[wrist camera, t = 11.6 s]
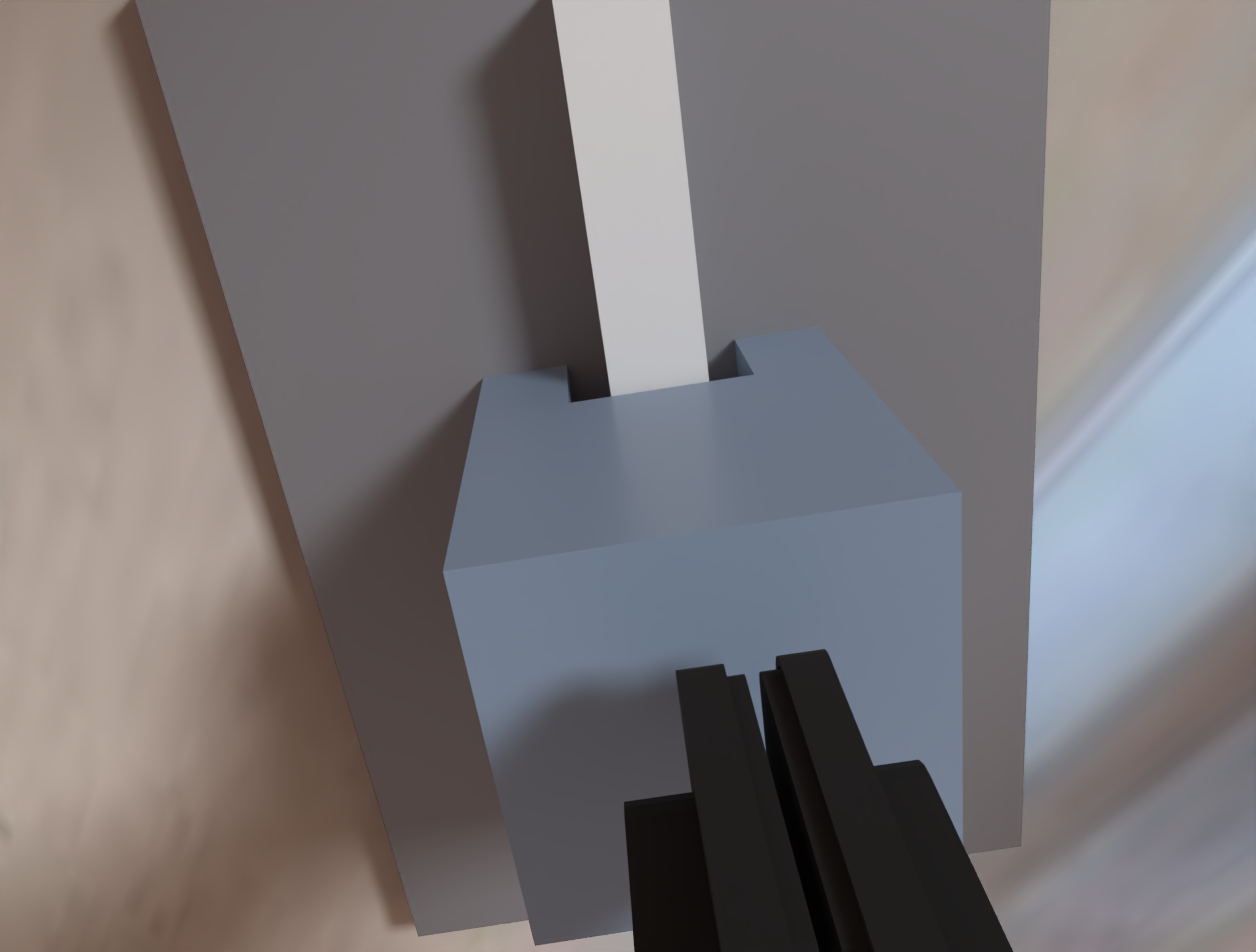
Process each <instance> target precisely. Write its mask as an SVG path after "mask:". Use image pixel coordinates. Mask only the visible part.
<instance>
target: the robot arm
mask: <svg viewBox="0 0 1256 952" xmlns="http://www.w3.org/2000/svg"><path fill="white" fill-rule="evenodd" d="M675 672H676V680H677V688H678V695H679V702H680V710H681V717H682V724H683V732H684V739H685V746H686V754H687V761H688V768H689V776H690V783H691V790H692V792H688V793H681V794H674V795H667V796H660V797H654V798H647V799H640V800H633V801H626V802H624V818H625V832H626V845H627V858H628V871H629V884H630V898H631V911H632V924H633V937H634V950H635V952H1013V950H1012V948H1011V946H1010V944H1009V942H1008V940H1007V938H1006V935H1005V933H1004V931H1003V929H1002V927H1001V925H1000V923H999V920H998V918H997V916H996V914H995V912H994V910H993V908H992V906H991V903H990V901H989V899H988V897H987V895H986V893H985V891H984V889H983V886H982V884H981V882H980V880H979V878H978V876H977V874H976V872H975V869H974V867H973V865H972V863H971V861H970V859H969V857H968V854H967V852H966V850H965V848H964V846H963V844H962V842H961V840H960V837H959V835H958V833H957V831H956V829H955V827H954V825H953V823H952V820H951V818H950V816H949V814H948V812H947V810H946V808H945V806H944V803H943V801H942V799H941V797H940V795H939V793H938V791H937V789H936V786H935V784H934V782H933V780H932V778H931V776H930V774H929V772H928V770H927V769H926V767H925V765H924V764H923V763H922V762H921V761H920V760H919V759H918V760H911V761H904V762H897V763H890V764H883V765H877V766H874V765H873V763H872V760H871V758H870V755H869V753H868V751H867V748H866V746H865V743H864V741H863V738H862V736H861V733H860V731H859V728H858V726H857V723H856V721H855V718H854V716H853V713H852V711H851V708H850V706H849V703H848V701H847V698H846V696H845V693H844V691H843V688H842V686H841V683H840V681H839V678H838V676H837V673H836V671H835V669H834V666H833V664H832V661H831V659H830V656H829V654H828V652H827V650H825V649H820V650H814V651H807V652H800V653H793V654H786V655H779V656H776V669H775V670H768V671H761V672H760V673H759V682H760V693H761V704H762V715H763V725H764V736H765V747H766V750H765V747H764V743H763V739H762V735H761V732H760V728H759V724H758V721H757V717H756V713H755V709H754V706H753V702H752V698H751V694H750V691H749V687H748V683H747V680H746V676H745V674H740V675H733V676H727V675H726V671H725V667H724V664H716V665H709V666H702V667H695V668H688V669H682V670H675Z"/></svg>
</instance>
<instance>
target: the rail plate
mask: <svg viewBox="0 0 1256 952" xmlns="http://www.w3.org/2000/svg"><path fill="white" fill-rule="evenodd" d="M135 2H136V6H137V9H138V12H139V15H140V19H141V22H142V25H143V29H144V32H145V35H146V39H147V42H148V45H149V48H150V52H151V55H152V58H153V62H154V65H155V68H156V72H157V75H158V78H159V81H160V85H161V88H162V91H163V95H164V98H165V101H166V105H167V108H168V111H169V115H170V118H171V121H172V124H173V128H174V131H175V134H176V138H177V141H178V144H179V148H180V151H181V154H182V157H183V161H184V164H185V167H186V171H187V174H188V177H189V181H190V184H191V187H192V190H193V194H194V197H195V200H196V204H197V207H198V210H199V214H200V217H201V220H202V224H203V227H204V230H205V233H206V237H207V240H208V243H209V247H210V250H211V253H212V257H213V260H214V263H215V266H216V270H217V273H218V276H219V280H220V283H221V286H222V290H223V293H224V296H225V299H226V303H227V306H228V309H229V313H230V316H231V319H232V323H233V326H234V329H235V333H236V336H237V339H238V342H239V346H240V349H241V352H242V356H243V359H244V362H245V366H246V369H247V372H248V375H249V379H250V382H251V385H252V389H253V392H254V395H255V399H256V402H257V405H258V408H259V412H260V415H261V418H262V422H263V425H264V428H265V432H266V435H267V438H268V441H269V445H270V448H271V451H272V455H273V458H274V461H275V465H276V468H277V471H278V475H279V478H280V481H281V484H282V488H283V491H284V494H285V498H286V501H287V504H288V508H289V511H290V514H291V517H292V521H293V524H294V527H295V531H296V534H297V537H298V541H299V544H300V547H301V550H302V554H303V557H304V560H305V564H306V567H307V570H308V574H309V577H310V580H311V584H312V587H313V590H314V593H315V597H316V600H317V603H318V607H319V610H320V613H321V617H322V620H323V623H324V626H325V630H326V633H327V636H328V640H329V643H330V646H331V650H332V653H333V656H334V659H335V663H336V666H337V669H338V673H339V676H340V679H341V683H342V686H343V689H344V693H345V696H346V699H347V702H348V706H349V709H350V712H351V716H352V719H353V722H354V726H355V729H356V732H357V735H358V739H359V742H360V745H361V749H362V752H363V755H364V759H365V762H366V765H367V768H368V772H369V775H370V778H371V782H372V785H373V788H374V792H375V795H376V798H377V801H378V805H379V808H380V811H381V815H382V818H383V821H384V825H385V828H386V831H387V835H388V838H389V841H390V844H391V848H392V851H393V854H394V858H395V861H396V864H397V868H398V871H399V874H400V877H401V881H402V884H403V887H404V891H405V894H406V897H407V901H408V904H409V907H410V910H411V914H412V917H413V920H414V924H415V927H416V930H417V934H418V937H419V936H425V935H432V934H439V933H445V932H452V931H459V930H465V929H472V928H479V927H485V926H492V925H499V924H505V923H512V922H518V921H525V920H529V919H528V915H527V911H526V907H525V903H524V899H523V895H522V891H521V887H520V883H519V879H518V875H517V871H516V866H515V862H514V858H513V854H512V850H511V846H510V842H509V838H508V834H507V830H506V826H505V822H504V818H503V814H502V810H501V806H500V802H499V798H498V793H497V789H496V785H495V781H494V777H493V773H492V769H491V765H490V761H489V757H488V753H487V749H486V745H485V741H484V737H483V733H482V729H481V724H480V720H479V716H478V712H477V708H476V704H475V700H474V696H473V692H472V688H471V684H470V680H469V676H468V672H467V668H466V664H465V660H464V656H463V651H462V647H461V643H460V639H459V635H458V631H457V627H456V623H455V619H454V615H453V611H452V607H451V603H450V599H449V595H448V591H447V587H446V583H445V578H444V574H443V568H444V563H445V559H446V554H447V549H448V544H449V539H450V535H451V530H452V525H453V520H454V515H455V511H456V506H457V501H458V496H459V491H460V487H461V482H462V477H463V472H464V468H465V463H466V458H467V453H468V448H469V444H470V439H471V434H472V429H473V424H474V420H475V415H476V410H477V405H478V401H479V396H480V391H481V386H482V381H483V378H485V377H491V376H498V375H504V374H511V373H517V372H524V371H530V370H537V369H543V368H550V367H556V366H563V365H567V368H568V374H569V380H570V385H571V391H572V397H573V402H579V401H585V400H592V399H598V398H605V397H611V396H618V395H624V394H631V393H637V392H644V391H650V390H657V389H663V388H670V387H676V386H683V385H689V384H696V383H702V382H709V381H715V380H722V379H728V378H735V377H738V372H737V362H736V352H735V341H734V339H738V338H745V337H751V336H758V335H764V334H771V333H777V332H784V331H790V330H797V329H803V328H810V327H816V326H818V327H819V328H820V329H821V330H822V332H823V333H824V334H825V335H826V336H827V337H828V338H829V340H830V341H831V342H832V343H833V344H834V345H835V347H836V348H837V349H838V350H839V351H840V352H841V353H842V355H843V356H844V357H845V358H846V359H847V360H848V361H849V363H850V364H851V365H852V366H853V367H854V368H855V370H856V371H857V372H858V373H859V374H860V375H861V376H862V378H863V379H864V380H865V381H866V382H867V383H868V384H869V386H870V387H871V388H872V389H873V390H874V391H875V393H876V394H877V395H878V396H879V397H880V398H881V399H882V401H883V402H884V403H885V404H886V405H887V406H888V407H889V409H890V410H891V411H892V412H893V413H894V414H895V416H896V417H897V418H898V419H899V420H900V421H901V422H902V424H903V425H904V426H905V427H906V428H907V429H908V430H909V432H910V433H911V434H912V435H913V436H914V437H915V439H916V440H917V441H918V442H919V443H920V444H921V445H922V447H923V448H924V449H925V450H926V451H927V452H928V453H929V455H930V456H931V457H932V458H933V459H934V460H935V462H936V463H937V464H938V465H939V466H940V467H941V468H942V470H943V471H944V472H945V473H946V474H947V475H948V476H949V478H950V479H951V480H952V481H953V482H954V483H955V485H956V486H957V487H958V488H959V489H960V490H961V491H962V724H963V846H964V848H965V850H966V852H967V854H970V853H977V852H984V851H990V850H997V849H1004V848H1010V847H1017V846H1021V833H1022V804H1023V776H1024V747H1025V718H1026V690H1027V661H1028V633H1029V604H1030V575H1031V547H1032V518H1033V489H1034V461H1035V432H1036V404H1037V375H1038V346H1039V318H1040V289H1041V260H1042V232H1043V203H1044V174H1045V146H1046V117H1047V89H1048V60H1049V31H1050V3H1051V0H135Z"/></svg>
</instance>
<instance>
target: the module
mask: <svg viewBox="0 0 1256 952" xmlns="http://www.w3.org/2000/svg"><path fill="white" fill-rule="evenodd" d="M734 341H735V352H736V362H737V372H738V377H735V378H728V379H722V380H715V381H709V382H702V383H696V384H689V385H683V386H676V387H670V388H663V389H657V390H650V391H644V392H637V393H631V394H624V395H618V396H611V397H605V398H598V399H592V400H585V401H579V402H573V397H572V391H571V385H570V380H569V374H568V368H567V365H563V366H556V367H550V368H543V369H537V370H530V371H524V372H517V373H511V374H504V375H498V376H491V377H485V378H483V381H482V386H481V391H480V396H479V401H478V405H477V410H476V415H475V420H474V424H473V429H472V434H471V439H470V444H469V448H468V453H467V458H466V463H465V468H464V472H463V477H462V482H461V487H460V491H459V496H458V501H457V506H456V511H455V515H454V520H453V525H452V530H451V535H450V539H449V544H448V549H447V554H446V559H445V563H444V568H443V574H444V578H445V583H446V587H447V591H448V595H449V599H450V603H451V607H452V611H453V615H454V619H455V623H456V627H457V631H458V635H459V639H460V643H461V647H462V651H463V656H464V660H465V664H466V668H467V672H468V676H469V680H470V684H471V688H472V692H473V696H474V700H475V704H476V708H477V712H478V716H479V720H480V724H481V729H482V733H483V737H484V741H485V745H486V749H487V753H488V757H489V761H490V765H491V769H492V773H493V777H494V781H495V785H496V789H497V793H498V798H499V802H500V806H501V810H502V814H503V818H504V822H505V826H506V830H507V834H508V838H509V842H510V846H511V850H512V854H513V858H514V862H515V866H516V871H517V875H518V879H519V883H520V887H521V891H522V895H523V899H524V903H525V907H526V911H527V915H528V919H529V923H530V927H531V931H532V935H533V939H534V944H535V946H536V945H542V944H549V943H555V942H562V941H568V940H575V939H581V938H587V937H594V936H600V935H607V934H613V933H620V932H626V931H633V924H632V911H631V898H630V884H629V871H628V858H627V845H626V832H625V818H624V802H626V801H633V800H640V799H647V798H654V797H660V796H667V795H674V794H681V793H688V792H692V790H691V783H690V776H689V768H688V761H687V754H686V746H685V739H684V732H683V724H682V717H681V710H680V702H679V695H678V688H677V680H676V672H675V670H682V669H688V668H695V667H702V666H709V665H716V664H724V667H725V671H726V675H727V676H733V675H740V674H745V676H746V680H747V683H748V687H749V691H750V694H751V698H752V702H753V706H754V709H755V713H756V717H757V721H758V724H759V728H760V732H761V735H762V739H763V743H764V747H765V736H764V725H763V715H762V704H761V693H760V682H759V673H760V672H761V671H768V670H775V669H776V656H779V655H786V654H793V653H800V652H807V651H814V650H820V649H825V650H827V652H828V654H829V656H830V659H831V661H832V664H833V666H834V669H835V671H836V673H837V676H838V678H839V681H840V683H841V686H842V688H843V691H844V693H845V696H846V698H847V701H848V703H849V706H850V708H851V711H852V713H853V716H854V718H855V721H856V723H857V726H858V728H859V731H860V733H861V736H862V738H863V741H864V743H865V746H866V748H867V751H868V753H869V755H870V758H871V760H872V763H873V765H874V766H877V765H883V764H890V763H897V762H904V761H911V760H918V759H919V760H920V761H921V762H922V763H923V764H924V765H925V767H926V769H927V770H928V772H929V774H930V776H931V778H932V780H933V782H934V784H935V786H936V789H937V791H938V793H939V795H940V797H941V799H942V801H943V803H944V806H945V808H946V810H947V812H948V814H949V816H950V818H951V820H952V823H953V825H954V827H955V829H956V831H957V833H958V835H959V837H960V840H961V842H962V844H963V724H962V491H961V490H960V489H959V488H958V487H957V486H956V485H955V483H954V482H953V481H952V480H951V479H950V478H949V476H948V475H947V474H946V473H945V472H944V471H943V470H942V468H941V467H940V466H939V465H938V464H937V463H936V462H935V460H934V459H933V458H932V457H931V456H930V455H929V453H928V452H927V451H926V450H925V449H924V448H923V447H922V445H921V444H920V443H919V442H918V441H917V440H916V439H915V437H914V436H913V435H912V434H911V433H910V432H909V430H908V429H907V428H906V427H905V426H904V425H903V424H902V422H901V421H900V420H899V419H898V418H897V417H896V416H895V414H894V413H893V412H892V411H891V410H890V409H889V407H888V406H887V405H886V404H885V403H884V402H883V401H882V399H881V398H880V397H879V396H878V395H877V394H876V393H875V391H874V390H873V389H872V388H871V387H870V386H869V384H868V383H867V382H866V381H865V380H864V379H863V378H862V376H861V375H860V374H859V373H858V372H857V371H856V370H855V368H854V367H853V366H852V365H851V364H850V363H849V361H848V360H847V359H846V358H845V357H844V356H843V355H842V353H841V352H840V351H839V350H838V349H837V348H836V347H835V345H834V344H833V343H832V342H831V341H830V340H829V338H828V337H827V336H826V335H825V334H824V333H823V332H822V330H821V329H820V328H819V327H818V326H816V327H810V328H803V329H797V330H790V331H784V332H777V333H771V334H764V335H758V336H751V337H745V338H738V339H734ZM765 750H766V747H765Z"/></svg>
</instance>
